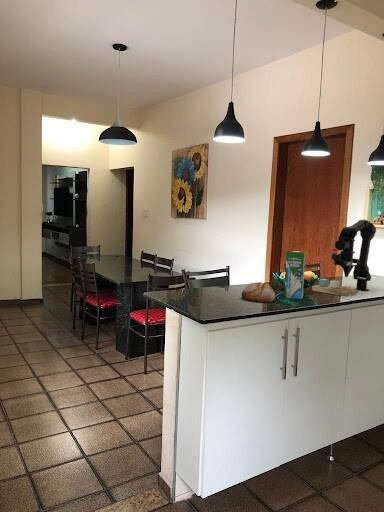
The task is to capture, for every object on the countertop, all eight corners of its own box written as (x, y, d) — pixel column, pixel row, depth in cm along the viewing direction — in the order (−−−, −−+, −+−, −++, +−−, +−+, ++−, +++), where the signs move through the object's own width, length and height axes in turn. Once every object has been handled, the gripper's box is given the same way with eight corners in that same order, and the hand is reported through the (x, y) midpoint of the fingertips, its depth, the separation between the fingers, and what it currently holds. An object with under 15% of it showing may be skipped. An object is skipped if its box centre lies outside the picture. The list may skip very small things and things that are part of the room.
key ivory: (333, 286, 241) (333, 280, 241) (339, 287, 238) (339, 281, 238) (329, 287, 238) (329, 280, 238) (335, 288, 235) (336, 281, 235)
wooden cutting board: (322, 288, 251) (323, 284, 250) (357, 293, 234) (357, 289, 234) (311, 290, 243) (312, 286, 242) (346, 296, 226) (347, 291, 226)
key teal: (322, 284, 246) (322, 278, 246) (328, 285, 243) (328, 279, 243) (318, 285, 243) (319, 279, 243) (324, 286, 240) (325, 280, 240)
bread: (258, 306, 201) (258, 286, 200) (234, 299, 218) (234, 280, 217) (283, 301, 209) (283, 282, 208) (258, 294, 226) (258, 276, 225)
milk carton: (303, 296, 223) (305, 250, 221) (301, 299, 215) (304, 252, 212) (286, 295, 226) (288, 250, 224) (284, 298, 218) (286, 251, 215)
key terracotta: (344, 291, 236) (344, 285, 236) (350, 293, 233) (351, 286, 233) (340, 292, 233) (340, 286, 233) (347, 293, 230) (347, 287, 230)
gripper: (343, 248, 243) (341, 274, 244) (326, 249, 230) (324, 276, 232) (361, 249, 234) (359, 276, 236) (344, 250, 222) (343, 279, 224)
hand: (346, 277), depth 232 cm, fingers closed
